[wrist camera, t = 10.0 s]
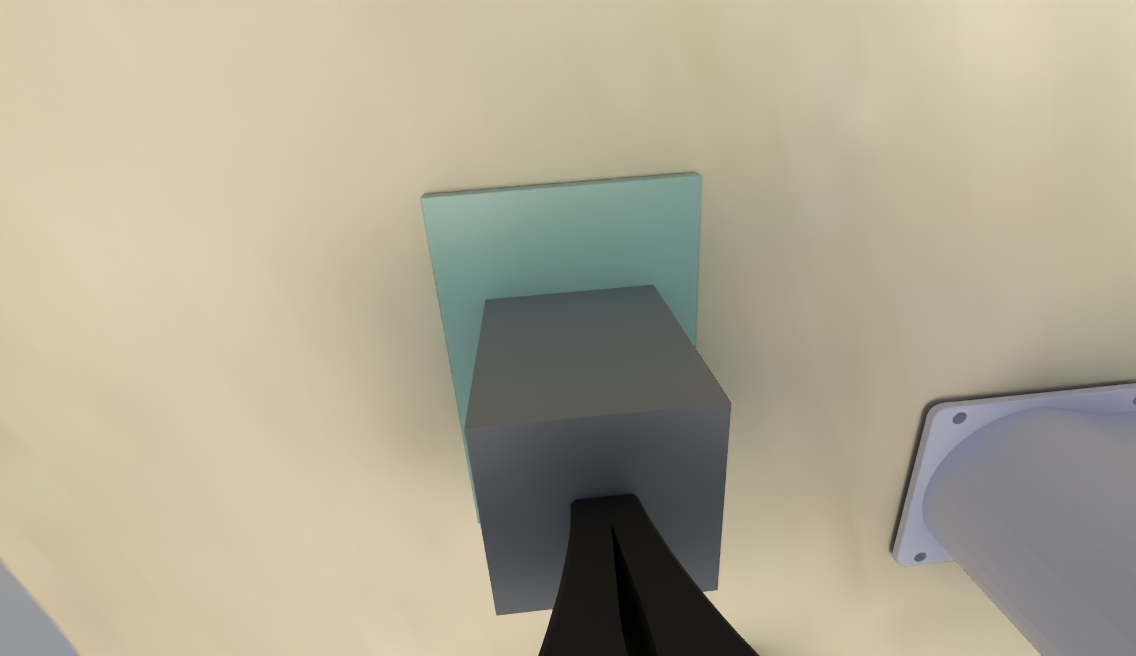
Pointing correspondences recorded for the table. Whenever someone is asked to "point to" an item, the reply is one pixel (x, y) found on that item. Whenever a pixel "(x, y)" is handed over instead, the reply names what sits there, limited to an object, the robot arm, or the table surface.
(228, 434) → the table surface
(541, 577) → the dark grey block
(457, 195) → the teal base stand
